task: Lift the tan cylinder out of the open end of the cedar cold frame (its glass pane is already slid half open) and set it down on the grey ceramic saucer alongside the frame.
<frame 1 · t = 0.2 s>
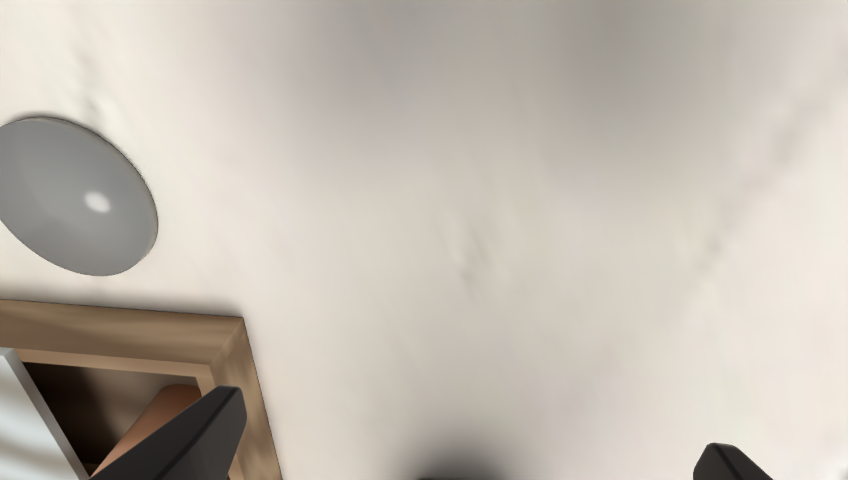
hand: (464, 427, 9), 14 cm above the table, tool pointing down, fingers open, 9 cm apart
tan cylinder: (194, 412, 31), point 1 cm above the table, touching cold frame
saucer: (77, 199, 24), on the table
cold frame: (121, 398, 32), on the table
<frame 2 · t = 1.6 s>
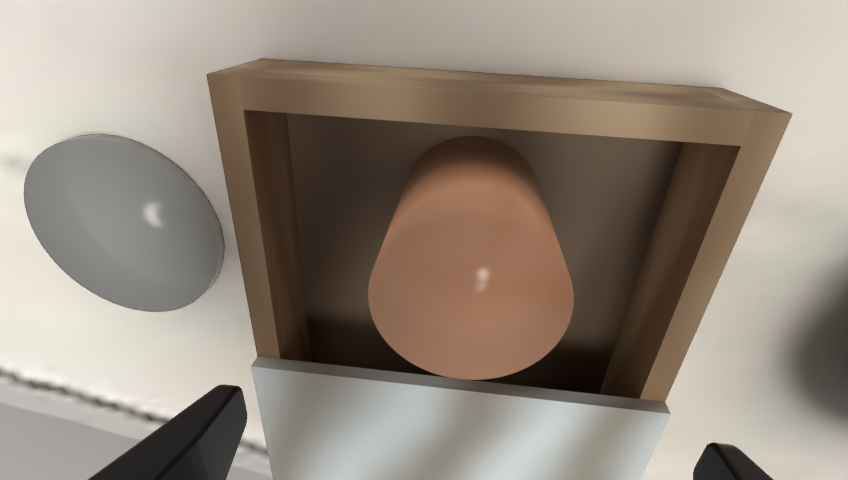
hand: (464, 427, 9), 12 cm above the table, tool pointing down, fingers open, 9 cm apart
tan cylinder: (470, 202, 18), point 1 cm above the table, touching cold frame
saucer: (132, 226, 21), on the table
cold frame: (459, 309, 22), on the table
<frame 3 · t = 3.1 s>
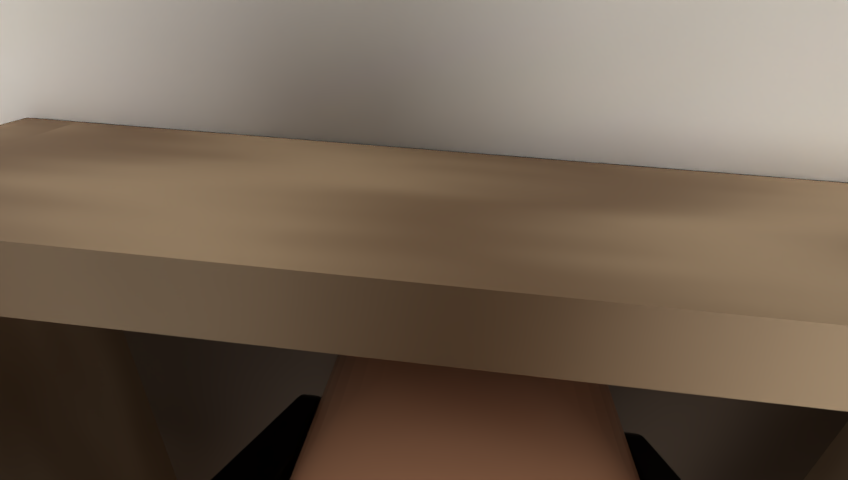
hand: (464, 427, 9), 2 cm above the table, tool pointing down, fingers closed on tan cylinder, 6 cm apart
tan cylinder: (465, 390, 9), point 1 cm above the table, touching cold frame, gripper
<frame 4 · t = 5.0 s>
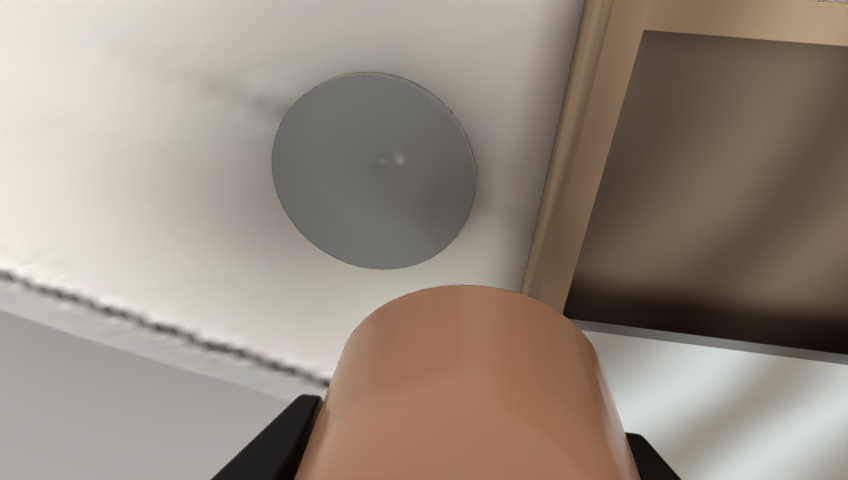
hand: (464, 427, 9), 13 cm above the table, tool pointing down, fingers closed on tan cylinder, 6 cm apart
tan cylinder: (467, 393, 9), point 12 cm above the table, touching gripper
saucer: (375, 176, 20), on the table
cold frame: (715, 274, 20), on the table
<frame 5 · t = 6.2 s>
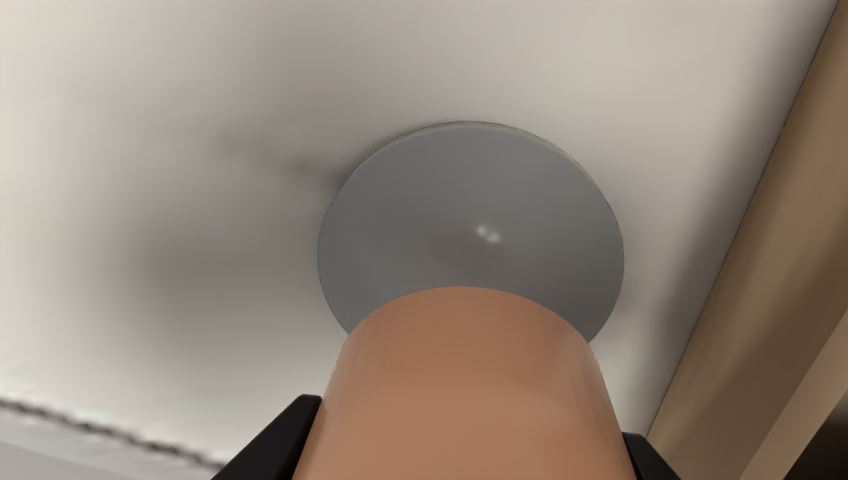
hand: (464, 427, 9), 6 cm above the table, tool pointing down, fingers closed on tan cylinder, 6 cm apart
tan cylinder: (465, 395, 9), point 5 cm above the table, touching gripper
saucer: (465, 265, 14), on the table
when the fingers open (3 cm above the table, at t = 7.0 s): tan cylinder drops 2 cm, resting on saucer.
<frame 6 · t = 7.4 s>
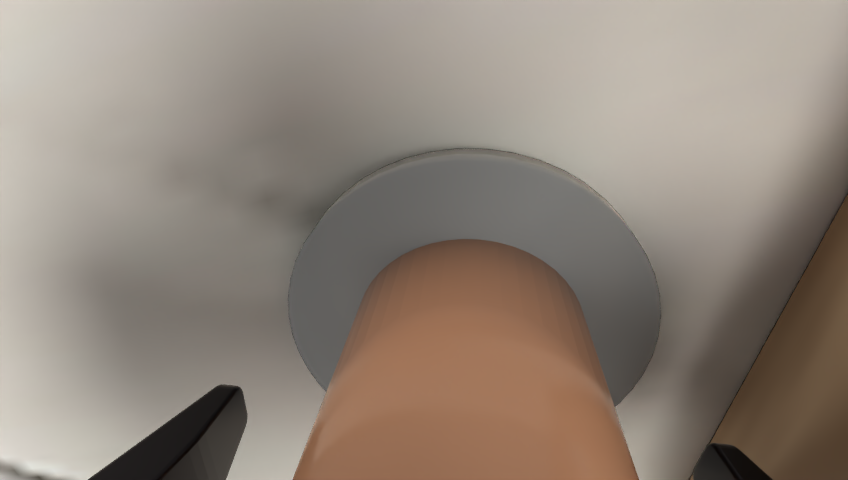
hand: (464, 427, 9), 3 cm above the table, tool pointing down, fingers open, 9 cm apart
tan cylinder: (468, 338, 11), point 1 cm above the table, touching saucer
saucer: (466, 315, 12), on the table
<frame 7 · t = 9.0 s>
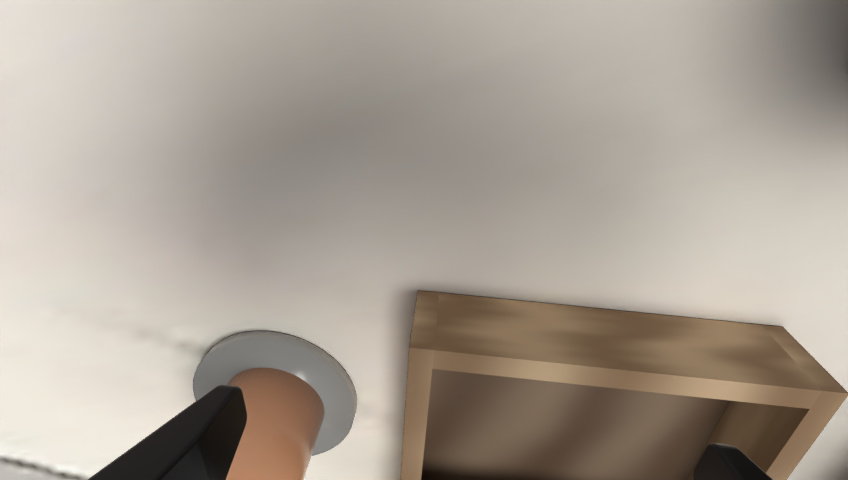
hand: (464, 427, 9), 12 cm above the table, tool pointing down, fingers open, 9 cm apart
tan cylinder: (274, 405, 25), point 1 cm above the table, touching saucer
saucer: (278, 393, 25), on the table
cold frame: (550, 458, 26), on the table
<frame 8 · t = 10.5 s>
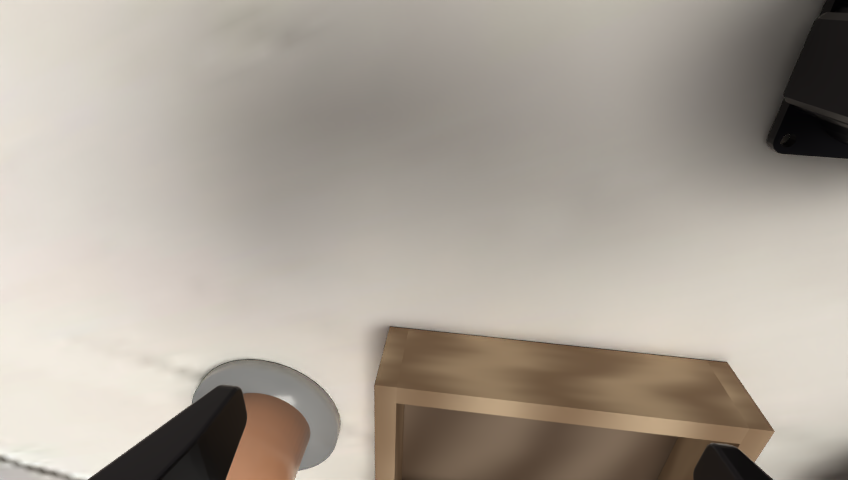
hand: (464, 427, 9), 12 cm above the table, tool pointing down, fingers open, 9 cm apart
tan cylinder: (265, 425, 27), point 1 cm above the table, touching saucer
saucer: (269, 413, 28), on the table
cold frame: (521, 476, 28), on the table
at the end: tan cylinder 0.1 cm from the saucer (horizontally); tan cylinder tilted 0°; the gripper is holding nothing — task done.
